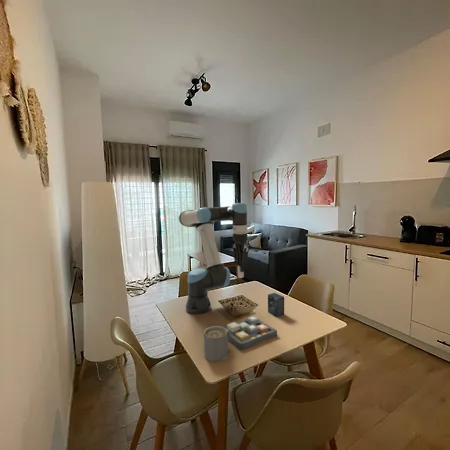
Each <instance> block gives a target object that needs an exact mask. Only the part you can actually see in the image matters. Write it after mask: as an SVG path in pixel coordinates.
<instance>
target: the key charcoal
mask: <svg viewBox="0 0 450 450" xmlns="http://www.w3.org/2000/svg"><path fill="white" fill-rule="evenodd" d="M246 331H247V332H248V333H250V334H251V335H252V334H255V333H257V332H259V328H258V327H257V326H255V325H254V324H252V325H249V326H246Z"/></svg>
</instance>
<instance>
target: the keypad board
mask: <svg viewBox="0 0 450 450" xmlns="http://www.w3.org/2000/svg"><path fill="white" fill-rule="evenodd" d="M234 322H235V323H237V324H239V323H242V322H246V323H247V324H249V325H251V324H250V323H248V322H247V318H244V319H242V320H239V321H234ZM261 324H264V325H266V326H267V327H269V331H268V332H266V333H262V334H261V333H259V332H257V333H255V334H252V335H251V334H250V333H248V332H247V331H244V332H245V333H247V334H248V335H249V339H248V340H245V341H240V340H239V339H238V338H236V337H235V334H236V333H238V332H241V330H237V331H234V332H231V331H230V330H229V331H230V339H229V341H228V342H230V343H232V344H233V345H234V346H235V347H236V348H238V349H239V350H240V351H243V350H245V349H248V348H250V347H251V348H252V346H255V345H257V344H259V343H262V342H265V341H267V340H269V339H273V338H275V337H277V336H278V330H277V329H275V328H273V327H272V326H270V325H268V324H267V323H266V322H264V321H262V320H260V319H259V323H257V324H254V325H255V326H258V325H261ZM223 327H224V328H226V329H227V324H226V325H224V326H223Z"/></svg>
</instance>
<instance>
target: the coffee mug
mask: <svg viewBox="0 0 450 450" xmlns="http://www.w3.org/2000/svg"><path fill="white" fill-rule="evenodd" d="M229 339H230V331H229V330H228V329H226V328H224V326H222V325H211V326H209V327H207V328H205V329H204V331H203V347H204V351H203V352H204V358H205V359H206V360H208V361H210V362H220V361H223V360H225V359H226V358H228V355H229V345H228V344H229V343H228V342H230V341H229Z"/></svg>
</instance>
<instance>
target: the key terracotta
mask: <svg viewBox="0 0 450 450" xmlns="http://www.w3.org/2000/svg"><path fill="white" fill-rule="evenodd" d="M257 327H258V328H259V333H261V334H262V333H266V332H268V331H269V327H267V326H266V325H264V324H261V325H258V326H257Z"/></svg>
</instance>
